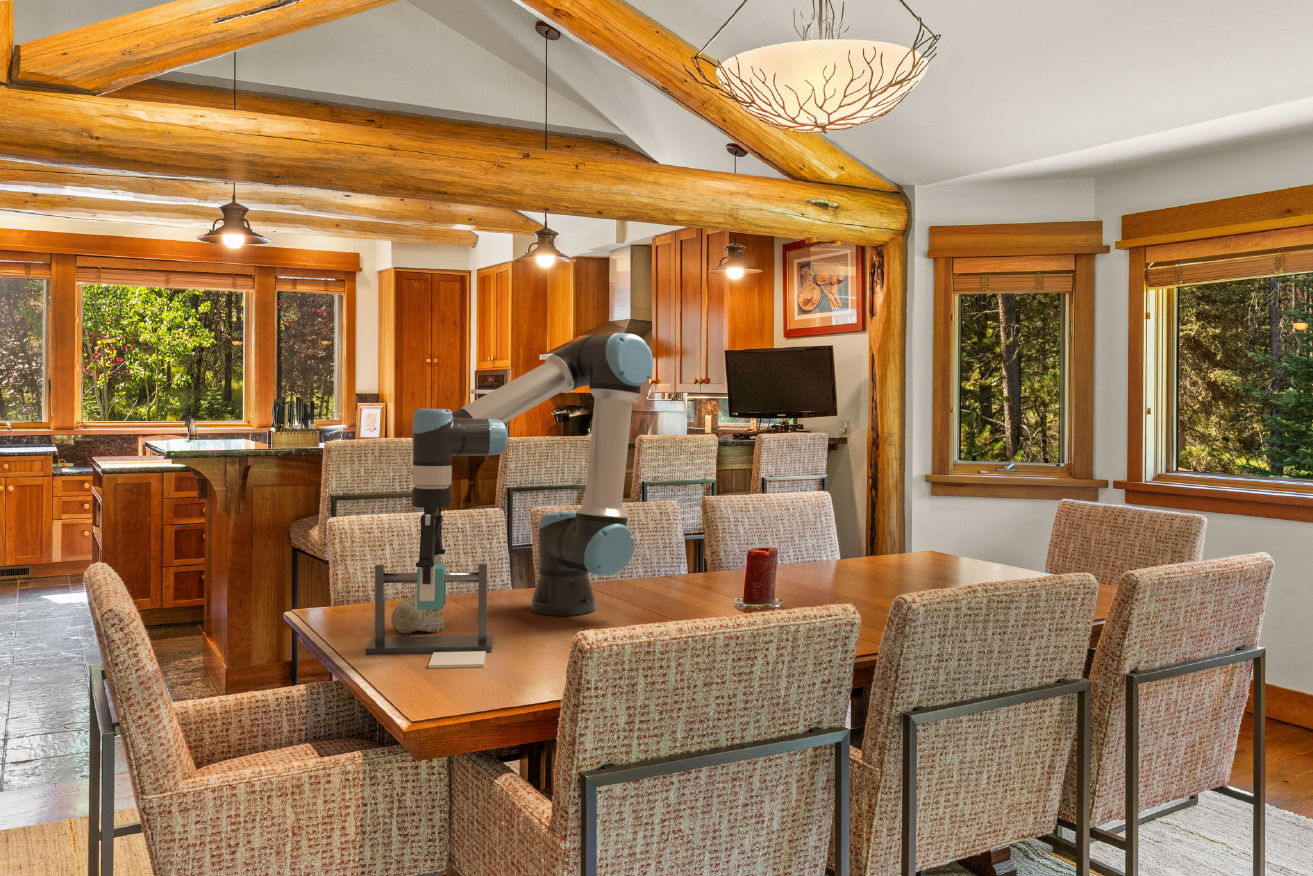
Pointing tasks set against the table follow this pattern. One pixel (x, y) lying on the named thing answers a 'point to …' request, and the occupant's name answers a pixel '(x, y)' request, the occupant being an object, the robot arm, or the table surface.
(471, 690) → the table surface
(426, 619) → the seashell
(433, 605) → the c link
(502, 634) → the table surface
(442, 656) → the mat
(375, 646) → the stand
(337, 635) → the table surface
